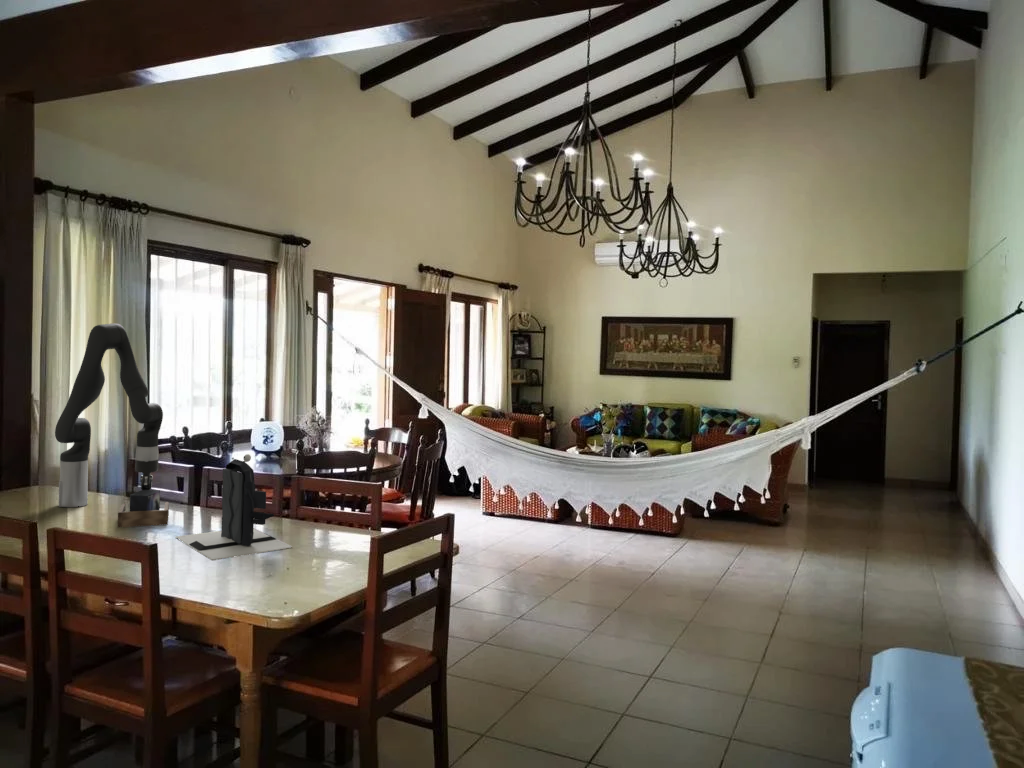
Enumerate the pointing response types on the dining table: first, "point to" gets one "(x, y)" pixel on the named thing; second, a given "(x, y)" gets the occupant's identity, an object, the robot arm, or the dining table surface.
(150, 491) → the small box
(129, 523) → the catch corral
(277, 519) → the dining table surface
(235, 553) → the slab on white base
